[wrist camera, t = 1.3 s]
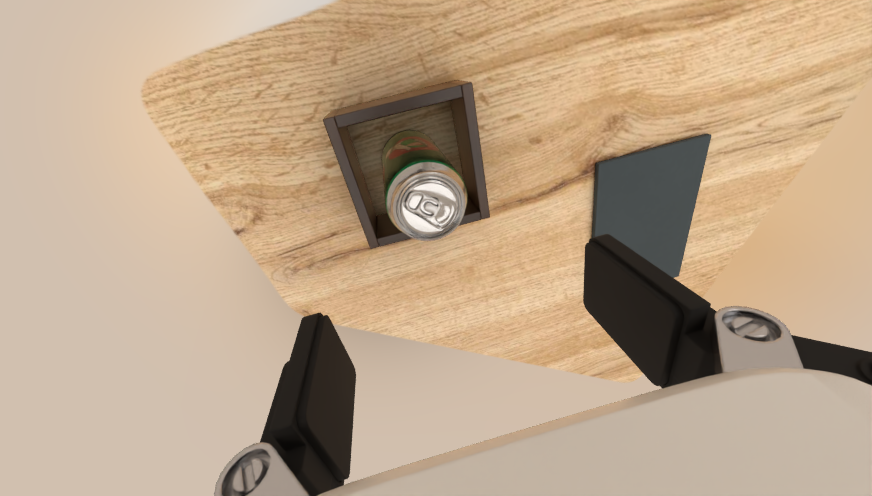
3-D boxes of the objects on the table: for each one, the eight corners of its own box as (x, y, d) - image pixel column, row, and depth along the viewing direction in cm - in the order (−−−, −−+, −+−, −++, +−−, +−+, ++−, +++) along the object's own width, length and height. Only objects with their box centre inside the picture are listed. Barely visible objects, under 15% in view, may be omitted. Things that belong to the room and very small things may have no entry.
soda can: (422, 194, 31) (446, 257, 20) (372, 171, 29) (371, 228, 19) (447, 145, 29) (488, 188, 19) (396, 118, 27) (410, 148, 17)
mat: (595, 162, 32) (598, 164, 32) (706, 133, 33) (711, 134, 32) (588, 298, 41) (591, 300, 41) (675, 273, 42) (678, 276, 41)
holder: (331, 110, 26) (322, 119, 22) (456, 79, 26) (472, 81, 22) (371, 224, 31) (370, 249, 27) (474, 197, 32) (490, 217, 27)
